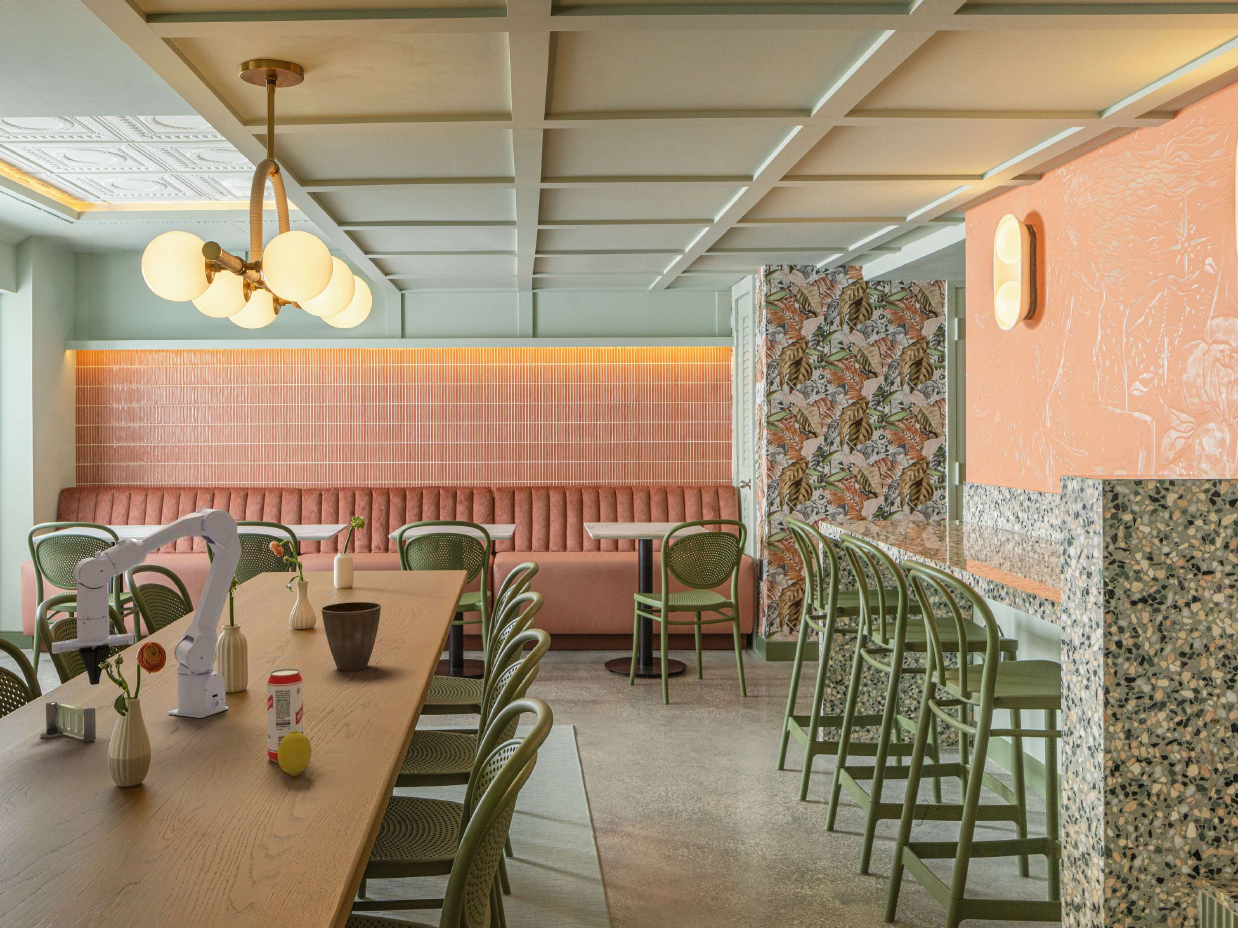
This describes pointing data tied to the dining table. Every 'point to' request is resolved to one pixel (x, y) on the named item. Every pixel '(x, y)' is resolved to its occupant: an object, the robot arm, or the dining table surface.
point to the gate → (89, 721)
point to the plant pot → (351, 632)
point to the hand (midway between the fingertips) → (94, 683)
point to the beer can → (283, 707)
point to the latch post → (51, 722)
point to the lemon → (294, 753)
